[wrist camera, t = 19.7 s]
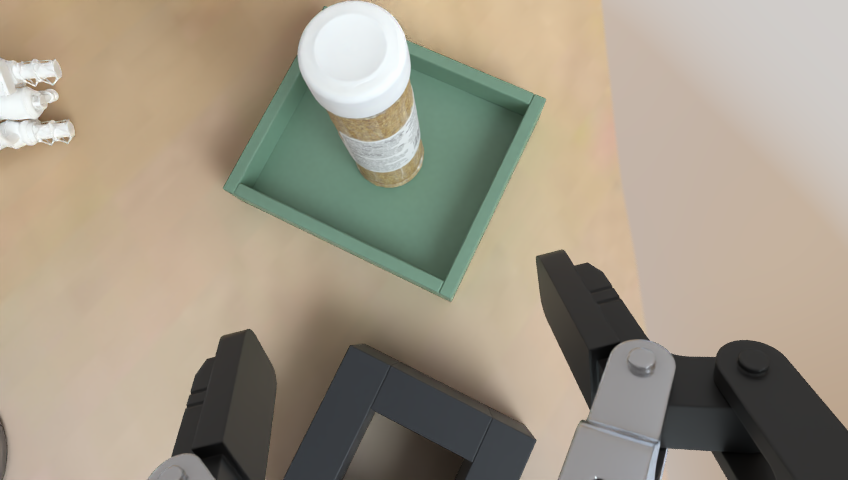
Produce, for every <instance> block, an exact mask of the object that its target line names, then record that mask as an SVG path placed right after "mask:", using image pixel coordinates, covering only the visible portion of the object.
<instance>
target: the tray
mask: <svg viewBox="0 0 848 480" xmlns="http://www.w3.org/2000/svg"><path fill="white" fill-rule="evenodd" d="M325 8H327V7H326V6H324V7H323V9H322V10H324V9H325ZM406 42H407V46H408V50H409V55H410V62H411V71H410V83H411V86H412V89H413V93H414V99H415V104H416V110H417V116H418V122H419V128H420V138H421V140H422V144H423V147H424V159H423V163H422V167H421V168H420V170H419V172H418V173H417V175H416V176H415V177H414V178H413V179H412V180H410V181H409V182H407V183H406V184H404V185H402V186H398V187H394V188H385V187H380V186H376V185H374V184H373V183H371V182H369V181H368V180H367V179H365V178H364V176H363V175H362V174H361V173H360V171H359V169H358V168H357V165H356V161H355V160H354V159H353V158H352V156H351V155H350V153H349V151H348V150H347V148H346V146H345V144H344V143H343V141H342V139H341V138H340V136H339V133H338V130H337V129H336V127H335V125H334V123H333V122H332V120H331V118H330V116H329V114H328V112H327V110H326V109H325V108H324V107H323V106H321V105H320V104H319V103H318V101H317V100H316V99H315V97H314V96H313V94H312V93H311V91H310V89H309V88H308V86H307V84H306V82H305V80H304V79H303V76H302V74H301V72H300V69H299V64H298V54H297V56H296V58H295V60H294V61H293V63H292V65H291V67H290V69H289V70H288V72H287V74H286V76H285V77H284V79H283V81H282V83H281V85H280V86H279V88H278V90H277V92H276V94H275V95H274V97H273V99H272V101H271V103H270V104H269V106H268V108H267V110H266V112H265V113H264V115H263V117H262V119H261V121H260V122H259V124H258V126H257V128H256V130H255V131H254V133H253V135H252V137H251V139H250V140H249V142H248V144H247V146H246V147H245V149H244V151H243V153H242V155H241V156H240V158H239V160H238V162H237V164H236V165H235V167H234V169H233V171H232V173H231V174H230V176H229V178H228V180H227V182H226V183H225V185H224V187H223V189H224V190H225V191H227V192H229V193H230V194H232V195H233V196H235V197H237V198H238V199H240V200H242V201H244V202H246V203H248V204H250V205H252V206H254V207H256V208H258V209H260V210H262V211H264V212H266V213H268V214H270V215H273V216H275V217H277V218H279V219H281V220H283V221H285V222H287V223H289V224H291V225H293V226H295V227H297V228H299V229H301V230H303V231H306V232H308V233H310V234H312V235H314V236H316V237H318V238H320V239H322V240H324V241H326V242H328V243H330V244H332V245H334V246H336V247H339V248H341V249H343V250H345V251H347V252H349V253H351V254H353V255H355V256H357V257H359V258H361V259H363V260H365V261H367V262H369V263H371V264H374V265H376V266H378V267H380V268H382V269H384V270H386V271H388V272H390V273H392V274H394V275H396V276H398V277H400V278H402V279H404V280H407V281H409V282H411V283H413V284H415V285H417V286H419V287H421V288H423V289H425V290H427V291H429V292H431V293H433V294H435V295H437V296H440V297H442V298H444V299H446V300H448V301H450V302H451V301H452V299H453V297H454V295H455V293H456V291H457V289H458V287H459V285H460V283H461V281H462V278H463V276H464V274H465V272H466V270H467V268H468V266H469V264H470V262H471V260H472V257H473V255H474V253H475V251H476V249H477V247H478V245H479V243H480V241H481V239H482V237H483V234H484V232H485V230H486V228H487V226H488V224H489V222H490V220H491V218H492V216H493V213H494V211H495V209H496V207H497V205H498V203H499V201H500V199H501V197H502V195H503V193H504V190H505V188H506V186H507V184H508V182H509V180H510V178H511V176H512V174H513V172H514V169H515V167H516V165H517V163H518V161H519V159H520V157H521V155H522V153H523V151H524V149H525V146H526V144H527V142H528V140H529V138H530V136H531V134H532V132H533V130H534V128H535V125H536V123H537V121H538V119H539V117H540V114H541V112H542V109H543V107H544V104H545V101H546V99H545V98H543V97H541V96H538V95H536V94H535V95H534V94H533V93H531V92H529V91H526V90H524V89H522V88H519V87H517V86H515V85H512V84H510V83H507V82H505V81H503V80H500V79H498V78H495V77H493V76H491V75H488V74H486V73H484V72H481V71H479V70H476V69H474V68H472V67H469V66H467V65H465V64H462V63H460V62H457V61H455V60H453V59H450V58H448V57H445V56H443V55H441V54H438V53H436V52H434V51H431V50H429V49H426V48H424V47H422V46H419V45H417V44H415V43H412V42H410V41H407V40H406Z"/></svg>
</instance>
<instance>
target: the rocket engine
mask: <svg viewBox="0 0 848 480" xmlns="http://www.w3.org/2000/svg"><path fill="white" fill-rule="evenodd" d="M42 61H49V62H48V63H40V61H38V60H37V59H32V61H26V62H31V63H30V64H23V63H24V62H23V61H21V63H17V62H16V61H14V60H12V61H7V60H4V59H1V57H0V120H4V119H8V120H6V121H5V122H2V123H1V124H0V150H2V149H4V148H5V147H10V148H14V149H19V148H20V147H23V146H25V145H30V146H32V145H35V144H36V143H37V142H43V141H42V139H44V140H45V139H46V140H47V139H48V138H52V139H53V141H52V144H53V143H54V141H61V140H60V138H62V137H70V138H69V141H68V143H69V142H70V140H71V139H72V137H75V129H74V126H73V124H72V123H71V122H70V121H69V119H68V120H65V119H64V120H62V121H63V123H57V122H60V121H54V120H50V121H45V122H48V123H49V124H48V123H47V124H42V125H41V123H44V122H41V121H40V120H38V117H39V116H40V115H41V114H42V113H43V111H44V109H46V108H47V103H52V102H53V101H56V100H57V99H58V98H59V95H58V93H57V92H56V91H55V90H53V89H46V90H45V91H36V90H34V89H31V88H30V87H27V86H25V85H26V82H27V81H26V80H27V79H28V80H30V78H36V85H37V84H38V82H43V81H44V79H46V77H56V78H55V79H56V80H55V82H54V83H53V84H52V83H51V82H50V81H49V80H47V79H46V80H47V81H48V82H50V83H51V85H54V84H55V83H56V82H57V80H58V79H59V78H62V71H61V67H60V65H59V63H58V62H57V61H56V59H54V60H42ZM52 61H53V62H52ZM30 81H31V80H30ZM37 81H38V82H37ZM31 82H32V81H31ZM44 82H46V81H44ZM48 82H46V83H48ZM19 83H22V84H19ZM27 83H29V82H27ZM32 83H33V82H32ZM50 83H48V84H50ZM29 84H31V83H29ZM33 84H34V83H33ZM33 84H31V85H33ZM36 85H35V84H34V85H33V86H35V87H36ZM24 86H25V87H24ZM18 87H23V88H18ZM22 119H28V120H24V121H22V122H19V121H13V120H22ZM64 121H65V122H64ZM62 139H63V138H62ZM63 140H64V139H63ZM47 141H48V140H47ZM64 141H65V140H64ZM64 141H62V142H64ZM48 142H49V141H48ZM44 143H46V142H44ZM49 143H50V142H49ZM64 143H67V142H66V141H65V142H64ZM68 143H67V144H68ZM46 144H48V143H46ZM52 144H51V143H50V144H49V145H51V146H52Z"/></svg>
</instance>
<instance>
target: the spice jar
mask: <svg viewBox="0 0 848 480" xmlns="http://www.w3.org/2000/svg"><path fill="white" fill-rule="evenodd" d="M298 64H299V69H300V72H301V74H302V76H303V79H304V80H305V82H306V84H307V86H308V88H309V89H310V91H311V93H312V94H313V96H314V97H315V99H316V100H317V101H318V103H319V104H320V105H321V106H323V107H324V108H325V109H326V110H327V112H328V114H329V116H330V118H331V120H332V122H333V123H334V125H335V127H336V129H337V130H338V133H339V136H340V138H341V139H342V141H343V143H344V144H345V146H346V148H347V150H348V151H349V153H350V155H351V156H352V158H353V159H354V160H355V161H356V165H357V168H358V169H359V171H360V173H361V174H362V175H363V176H364V178H365V179H367V180H368V181H369V182H371V183H373V184H374V185H376V186H380V187H385V188H394V187H398V186H402V185H404V184H406V183H407V182H409V181H410V180H412V179H413V178H414V177H415V176H416V175H417V173H418V172H419V170H420V168H421V167H422V163H423V159H424V147H423V144H422V140H421V138H420V128H419V122H418V116H417V110H416V104H415V99H414V93H413V89H412V86H411V83H410V71H411V62H410V55H409V50H408V46H407V42H406V38H405V34H404V32H403V30H402V28H401V26H400V24H399V23H398V21H397V20H396V19H395V18H394V17H393V16H392V15H391V14H390V13H389V12H388V11H386V10H385V9H383V8H382V7H380V6H378V5H376V4H373V3H369V2H365V1H345V2H339V3H336V4H334V5H331V6H329V7H327V8H325V9H324V10H322V11H321V12H319V13H318V14H317V15H316V16H315V17H314V18H313V19H312V20H311V21H310V22H309V23H308V25H307V26H306V28H305V29H304V31H303V33H302V35H301V38H300V41H299V46H298Z"/></svg>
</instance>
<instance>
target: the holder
mask: <svg viewBox="0 0 848 480" xmlns="http://www.w3.org/2000/svg"><path fill="white" fill-rule="evenodd" d="M375 412H377V413H379V414H381V415H383V416H385V417H387V418H389V419H391V420H393V421H394V422H396V423H398V424H400V425H402V426H404V427H406V428H408V429H410V430H412V431H413V432H415V433H417V434H419V435H421V436H423V437H425V438H427V439H429V440H431V441H432V442H434V443H436V444H438V445H440V446H442V447H444V448H446V449H448V450H450V451H452V452H453V453H455V454H457V455H459V456H461V457H463V458H464V460H463V462H462V464H461V466H460V469H459V471H458V473H457V475H456V477H455V480H519V479H520V477H521V475H522V472H523V470H524V468H525V466H526V463H527V461H528V459H529V456H530V454H531V452H532V450H533V447H534V445H535V443H536V439H535V438H534V436H533V435H532V434H531V432H530V431H529V430H528V429H527V427H526V426H525V425H523V424H522V423H520V422H518V421H516V420H514V419H512V418H510V417H508V416H506V415H504V414H502V413H500V412H498V411H496V410H494V409H492V408H490V407H487V406H486V405H484V404H482V403H480V402H478V401H476V400H474V399H472V398H470V397H468V396H466V395H464V394H462V393H460V392H459V391H457V390H455V389H453V388H451V387H449V386H447V385H445V384H443V383H441V382H439V381H437V380H435V379H433V378H431V377H429V376H427V375H425V374H423V373H421V372H419V371H417V370H415V369H413V368H411V367H409V366H407V365H405V364H403V363H401V362H399V361H397V360H396V359H394V358H392V357H390V356H388V355H386V354H384V353H382V352H380V351H378V350H376V349H374V348H372V347H370V346H368V345H366V344H358V345H350V346H349V348H348V350H347V352H346V354H345V356H344V358H343V360H342V362H341V364H340V366H339V368H338V370H337V372H336V374H335V376H334V378H333V381H332V383H331V385H330V387H329V389H328V391H327V393H326V395H325V397H324V399H323V401H322V403H321V405H320V407H319V409H318V411H317V413H316V415H315V417H314V419H313V421H312V423H311V425H310V427H309V429H308V431H307V433H306V435H305V437H304V439H303V441H302V443H301V445H300V447H299V449H298V451H297V453H296V455H295V457H294V459H293V461H292V463H291V465H290V467H289V469H288V471H287V473H286V475H285V477H284V479H283V480H342V479H343V477H344V475H345V473H346V471H347V469H348V467H349V465H350V463H351V461H352V459H353V457H354V455H355V452H356V450H357V448H358V446H359V444H360V442H361V440H362V438H363V436H364V434H365V432H366V430H367V428H368V426H369V424H370V421H371V419H372V417H373V415H374V413H375Z"/></svg>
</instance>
